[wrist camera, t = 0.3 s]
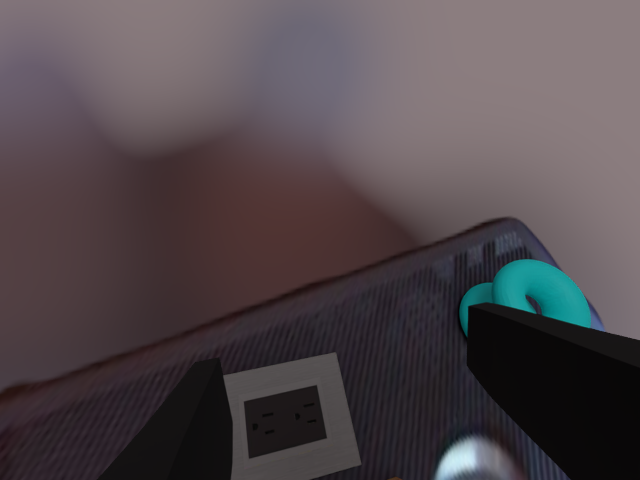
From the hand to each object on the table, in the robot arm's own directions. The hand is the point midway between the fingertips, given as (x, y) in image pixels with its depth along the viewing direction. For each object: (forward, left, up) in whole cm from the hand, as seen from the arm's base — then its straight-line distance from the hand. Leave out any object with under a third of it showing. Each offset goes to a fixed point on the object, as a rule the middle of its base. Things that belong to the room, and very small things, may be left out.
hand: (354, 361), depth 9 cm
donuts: (+4, -27, -29) cm, 40 cm away
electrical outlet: (-1, +1, -30) cm, 30 cm away
